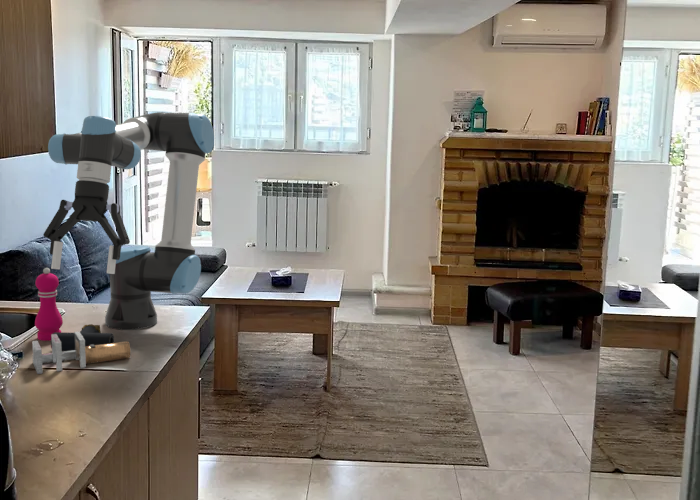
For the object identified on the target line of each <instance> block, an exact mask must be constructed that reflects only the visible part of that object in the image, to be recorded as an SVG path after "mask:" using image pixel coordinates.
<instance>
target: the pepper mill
mask: <svg viewBox="0 0 700 500" xmlns="http://www.w3.org/2000/svg"><path fill="white" fill-rule="evenodd" d="M42 272H43V273H41V274H39V275H38V276H36V279H35V282H34V283H35V286H36V288H37V289H38V290H37V294H38V295H37V297H38V298H39V303H40V304H39V310H38V311H37V314H36V316H35V320H34V326H35V327H36V329H37V330H38V331H37V334H36V335H37V337H36V338H37V339H38V340H39V341H43V342H44V341H45V342H47V341H49V342H51V339H52V336H51V334H53V333H54V332H61V333H62V330H61V329H60V328H61V327H62V326H63V324H64V321H63V316H62V314H61V313H60V311H59V308H58V306H57V302H56V297H57V296H58V290H57V288H58V286H60V283H59V282H60V281H59V278H58V276H57V275H55V274H54V273H51V269H50V268H49V267H44V268H43V270H42Z"/></svg>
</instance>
